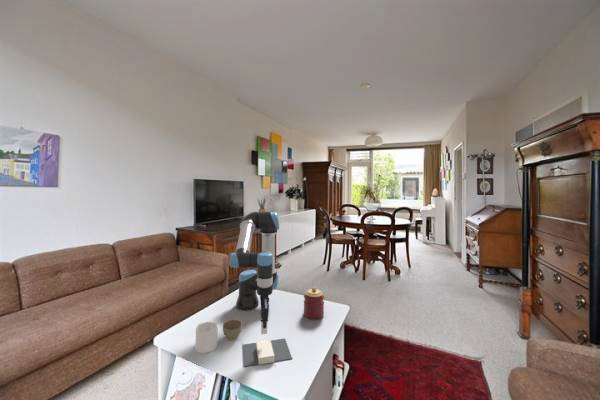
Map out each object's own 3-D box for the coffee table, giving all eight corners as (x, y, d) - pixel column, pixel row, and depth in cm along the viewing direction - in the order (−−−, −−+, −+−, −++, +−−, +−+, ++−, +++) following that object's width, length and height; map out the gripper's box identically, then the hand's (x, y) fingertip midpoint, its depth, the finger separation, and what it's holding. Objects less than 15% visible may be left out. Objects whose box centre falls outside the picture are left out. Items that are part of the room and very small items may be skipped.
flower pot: (219, 336, 130) (219, 323, 130) (236, 330, 137) (236, 317, 136) (227, 346, 123) (227, 332, 122) (245, 338, 129) (245, 325, 129)
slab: (256, 342, 121) (258, 358, 109) (270, 340, 122) (274, 355, 111) (256, 348, 121) (258, 364, 109) (270, 346, 122) (274, 362, 111)
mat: (242, 345, 123) (242, 344, 123) (285, 339, 129) (285, 338, 129) (243, 367, 108) (243, 366, 108) (292, 359, 114) (292, 358, 114)
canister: (301, 318, 150) (302, 290, 150) (305, 309, 163) (305, 282, 162) (322, 321, 148) (323, 292, 147) (324, 311, 161) (325, 284, 160)
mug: (221, 346, 122) (221, 326, 122) (202, 356, 114) (202, 335, 114) (207, 336, 130) (207, 317, 130) (189, 345, 122) (189, 325, 122)
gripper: (255, 281, 124) (255, 326, 124) (258, 291, 111) (257, 342, 112) (270, 279, 126) (269, 325, 126) (274, 289, 113) (273, 339, 114)
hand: (264, 333), depth 119 cm, fingers closed
